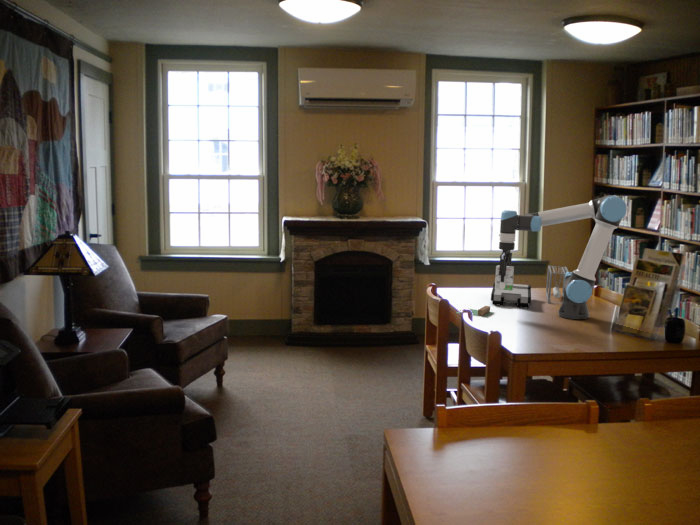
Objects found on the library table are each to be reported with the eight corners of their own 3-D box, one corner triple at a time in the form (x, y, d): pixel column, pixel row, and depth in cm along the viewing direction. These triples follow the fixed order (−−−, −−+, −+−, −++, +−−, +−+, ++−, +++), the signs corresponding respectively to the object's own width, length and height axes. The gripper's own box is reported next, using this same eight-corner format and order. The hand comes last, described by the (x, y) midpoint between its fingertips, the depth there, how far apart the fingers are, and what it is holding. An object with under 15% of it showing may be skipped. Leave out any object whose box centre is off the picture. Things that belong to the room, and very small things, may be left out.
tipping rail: (489, 312, 365) (490, 306, 364) (482, 316, 354) (483, 310, 354) (485, 311, 366) (485, 305, 365) (477, 315, 355) (478, 309, 355)
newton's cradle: (567, 305, 394) (569, 273, 391) (547, 303, 396) (550, 272, 394) (563, 295, 423) (566, 266, 420) (545, 294, 425) (548, 264, 423)
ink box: (513, 289, 358) (514, 266, 356) (511, 290, 353) (513, 267, 351) (495, 287, 361) (497, 264, 359) (494, 289, 356) (495, 265, 354)
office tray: (490, 306, 382) (491, 291, 381) (493, 296, 413) (493, 282, 412) (530, 310, 377) (531, 295, 376) (529, 299, 408) (530, 285, 407)
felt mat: (494, 313, 365) (494, 312, 365) (486, 318, 352) (486, 317, 352) (464, 309, 372) (464, 308, 372) (455, 313, 360) (455, 312, 360)
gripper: (504, 239, 363) (501, 284, 367) (494, 242, 347) (491, 289, 350) (519, 240, 360) (516, 285, 363) (509, 243, 344) (506, 291, 347)
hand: (503, 287), depth 357 cm, fingers closed on ink box, 5 cm apart
